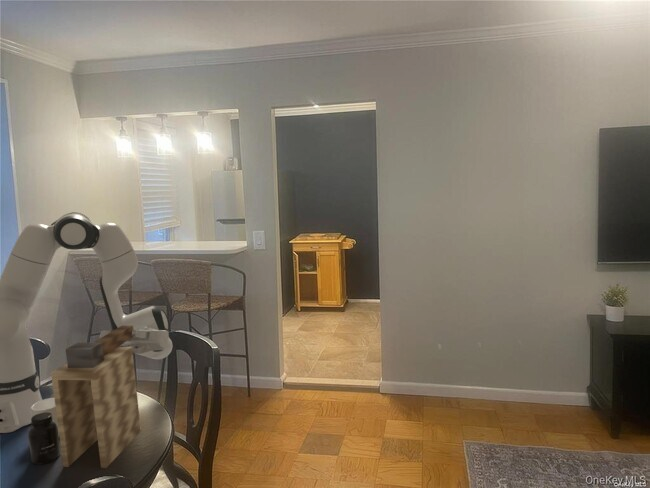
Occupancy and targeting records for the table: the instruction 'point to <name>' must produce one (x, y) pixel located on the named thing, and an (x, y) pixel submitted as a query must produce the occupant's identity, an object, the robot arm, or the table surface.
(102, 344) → the mallet
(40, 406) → the white cup
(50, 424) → the supplement bottle
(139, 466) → the table surface
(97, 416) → the stand
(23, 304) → the robot arm
